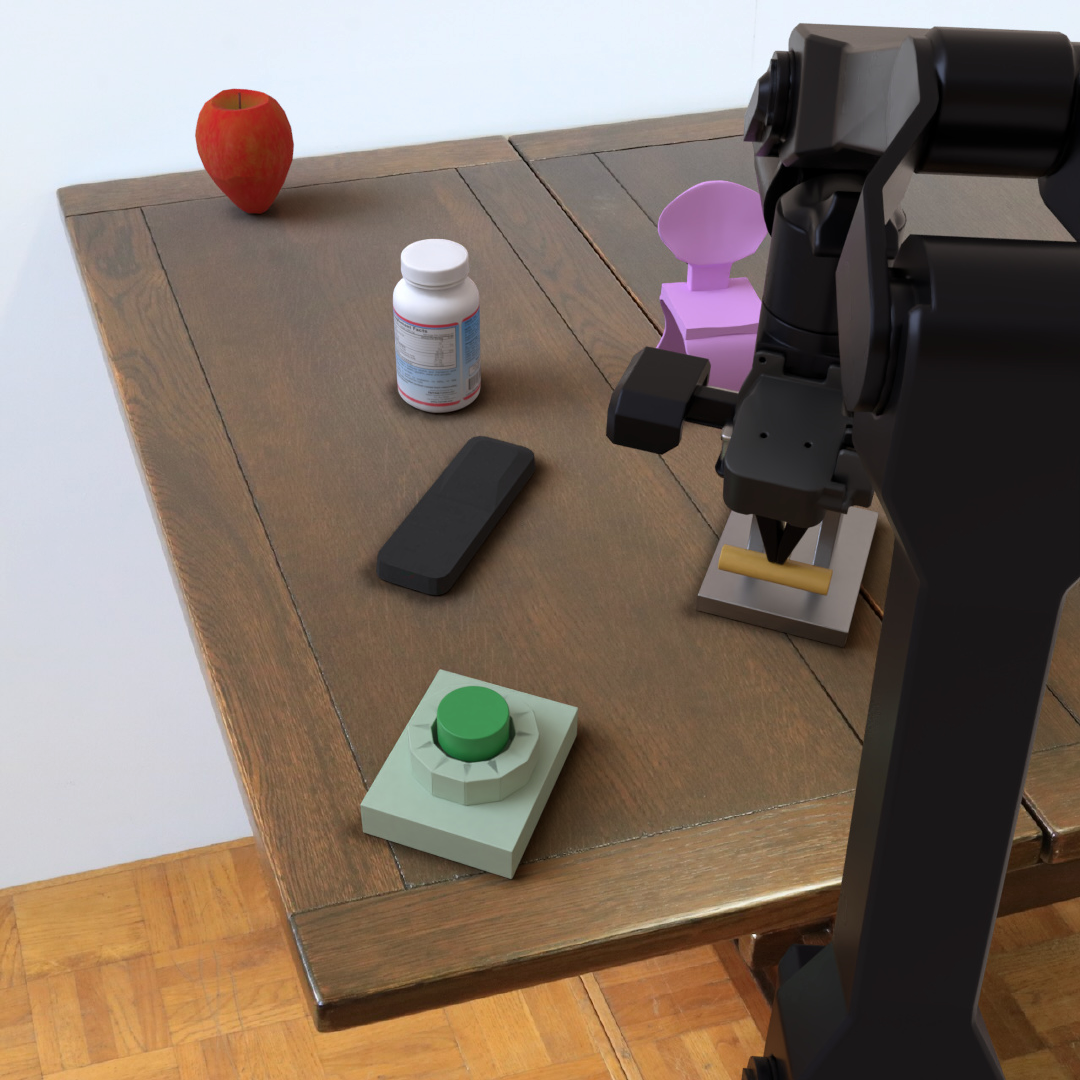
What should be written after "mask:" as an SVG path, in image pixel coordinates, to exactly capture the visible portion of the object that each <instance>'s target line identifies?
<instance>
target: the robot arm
mask: <svg viewBox="0 0 1080 1080" xmlns="http://www.w3.org/2000/svg"><path fill="white" fill-rule="evenodd" d="M787 47H788V49H787V50H774V51H773V53H772V56H771V58H770V60H769V64H768V67H767V69H766V72H764V73H762V75H761V76H759V78H758V79H757V80H756V82H755V85H754V89H753V91H752V94H751V97H750V99H749V102H748V105H747V108H746V111H745V113H744V117H743V119H744V120H743V138H742V139H743V141H742V142H744V143H745V142H748V143H752V149H753V166H754V171H755V177H756V183H757V189H758V193H759V194H760V200H761V206H762V211H763V217H764V221H765V224H766V228H767V231H768V233H767V234H769V236H770V244H769V251H768V258H767V264H766V271H765V278H764V283H763V290H762V291H763V292H762V298H761V302H762V303H761V310H760V317H759V323H758V330H757V337H756V343H755V350H754V357H753V363H752V369H751V370H750V372H749V374H748V375H747V377H746V379H745V380H744V382H743V384H742V386H741V388H740V391H739V392H738V391H734V390H729V389H724V388H719V387H715V386H710V385H708V383H709V377H710V369H711V364H710V361H709V359H706V358H701V357H697V356H692V355H687V354H682V353H677V352H672V351H667V350H663V349H658V348H656V347H652V346H648V345H645V346H644V347H643V348H641V350H639V351H637V352H636V353H635V354H634V355H633V356H632V358H631V359H630V361H629V363H628V365H627V366H626V368H625V370H624V372H623V374H622V375H621V377H620V379H619V380H618V382H617V384H616V385H615V387H614V389H613V391H612V393H611V395H610V399H609V403H608V406H607V412H606V413H607V414H606V428H605V437H606V438H607V439H608V440H609V441H610V442H611V444H613V445H616V446H622V447H625V448H629V449H632V450H633V449H634V450H638V451H643V452H646V453H647V452H648V453H652V454H656V455H660V456H663V455H664V454H666V453H669V452H670V451H672V450H674V449H675V448H677V447H679V445H680V443H681V441H682V439H683V429H684V424H685V422H686V423H691V424H695V425H699V426H704V427H708V428H714V429H718V430H721V434H720V440H721V441H722V442H721V449H720V453H719V454H718V457H717V459H716V462H715V464H714V470H715V474H716V475H717V476H718V477H720V478H721V479H723V481H722V482H723V483H722V500H723V503H724V505H725V506H726V508H728V509H729V510H730V511H731V510H732V511H734V512H737V513H740V514H744V515H749V514H754V515H755V516H756V519H757V523H758V527H759V530H760V534H761V538H762V541H763V545H764V549H765V552H766V556H767V560H768V562H771V563H776V564H779V565H783V564H784V563H785V562H786V560H787V559H788V557H789V556H790V554H791V553H792V551H793V550H794V549H795V547H796V546H797V544H798V543H799V541H800V540H801V538H802V537H803V536H804V534H805V533H806V531H807V530H808V528H810V527H814V526H816V525H818V524H819V523H821V522H822V521H823V519H824V518H825V515H826V512H827V510H829V511H833V512H838V513H842V514H846V515H847V513H848V509H849V507H851V506H853V507H859V508H864V509H869V508H870V507H871V506H872V503H873V497H874V495H876V497H877V500H878V501H879V504H880V506H881V508H882V511H883V512H884V514H885V517H886V519H887V522H888V523H889V525H890V527H891V530H892V532H893V536H894V538H893V548H892V555H891V563H890V569H889V575H888V583H887V588H886V594H885V600H884V606H883V614H882V619H881V620H882V621H881V626H880V633H879V639H878V646H877V651H876V652H877V653H876V659H875V664H874V672H873V677H872V684H871V691H870V697H869V704H868V709H867V710H868V711H867V718H866V722H865V729H864V734H863V735H864V736H863V740H862V746H861V747H862V749H861V754H860V761H859V767H858V774H857V780H856V786H855V792H854V800H853V806H852V812H851V819H850V826H849V832H848V838H847V844H846V851H845V856H844V864H843V870H842V876H841V884H840V889H839V896H838V903H837V908H836V913H835V914H836V915H835V921H834V926H833V927H834V928H833V932H832V937H831V941H830V942H829V943H828V944H826V945H824V944H809V943H808V944H807V943H792V944H790V945H789V947H788V948H787V949H786V951H785V953H784V954H783V955H782V956H781V958H780V960H779V961H778V964H777V972H776V981H775V992H774V995H773V996H774V997H773V1001H772V1007H771V1011H770V1012H771V1013H770V1017H769V1023H768V1028H767V1033H766V1037H765V1038H766V1039H765V1041H764V1042H765V1043H764V1049H763V1056H758V1055H750V1056H749V1058H748V1061H747V1065H746V1067H743V1068H742V1069H741V1070H742V1071H741V1080H1007V1079H1006V1077H1005V1074H1004V1071H1003V1068H1002V1066H1001V1063H1000V1060H999V1058H998V1054H997V1052H996V1049H995V1047H994V1045H993V1041H992V1039H991V1036H990V1033H989V1030H988V1028H987V1025H986V1022H985V1020H984V1017H983V1013H982V1011H981V1009H980V1006H979V1000H980V995H981V992H982V991H981V990H982V987H983V981H984V977H985V972H986V967H987V963H988V959H989V954H990V950H991V945H992V940H993V936H994V931H995V925H996V921H997V916H998V912H999V909H1000V903H1001V897H1002V893H1003V888H1004V884H1005V880H1006V875H1007V870H1008V866H1009V861H1010V856H1011V852H1012V847H1013V842H1014V837H1015V834H1016V828H1017V823H1018V818H1019V814H1020V810H1021V805H1022V800H1023V796H1024V791H1025V786H1026V782H1027V778H1028V777H1027V776H1028V772H1029V768H1030V762H1031V758H1032V753H1033V750H1034V745H1035V739H1036V735H1037V731H1038V727H1039V722H1040V717H1041V712H1042V707H1043V703H1044V698H1045V693H1046V688H1047V683H1048V679H1049V675H1050V671H1051V665H1052V661H1053V656H1054V651H1055V647H1056V642H1057V638H1058V633H1059V630H1060V629H1059V628H1060V623H1061V619H1062V614H1063V611H1064V606H1065V603H1066V599H1067V596H1068V593H1069V592H1070V590H1071V589H1072V588H1074V587H1075V585H1077V583H1078V582H1080V41H1072V40H1070V38H1069V37H1068V36H1067V34H1065V33H1063V32H1061V31H1055V30H1053V31H1051V30H1030V29H1029V30H1028V29H1009V28H1007V29H1006V28H985V27H984V28H983V27H959V26H958V27H957V26H938V25H936V26H933V27H931V28H927V27H926V28H925V27H924V28H923V27H900V26H879V25H856V24H855V25H854V24H831V23H829V24H828V23H809V22H808V23H807V22H799V23H798V24H797V25H796V26H795V27H794V28H793V29H792V30H791V32H790V35H789V38H788V45H787ZM913 174H915V175H938V176H955V177H956V176H959V177H978V178H980V177H982V178H999V179H1000V178H1002V179H1003V178H1004V179H1023V180H1037V185H1038V192H1039V196H1040V197H1041V200H1042V202H1043V204H1044V206H1045V207H1046V208H1047V210H1049V212H1051V214H1052V215H1053V216H1054V217H1055V219H1057V221H1058V222H1059V223H1060V224H1061V225H1062V227H1063V229H1065V230H1066V232H1067V233H1068V234H1069V235H1070V236H1071V237H1072V239H1074V241H1072V240H1071V241H1069V240H1047V239H1025V238H1004V237H983V236H982V237H981V236H962V235H959V236H958V235H941V234H940V235H939V234H919V233H918V234H917V233H916V234H915V233H910V234H908V236H907V237H906V238H905V239H904V238H903V237H904V234H905V230H906V225H907V221H908V220H907V215H906V213H905V211H904V209H903V207H902V205H901V203H902V201H903V200H904V199H905V196H906V193H907V190H908V187H909V185H910V182H911V180H912V177H913ZM903 239H904V241H903ZM785 522H786V525H785ZM784 527H785V528H784Z"/></svg>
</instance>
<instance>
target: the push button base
mask: <svg viewBox="0 0 1080 1080" xmlns="http://www.w3.org/2000/svg"><path fill="white" fill-rule="evenodd" d="M466 686H481V687H486V688H489V689H492V690H494V691H496V692H497V693H499V694H500V695H501V696H502V697H503V698H504V699H505V701H506V702H507V704H508V707H509V739H508V742H507V744H506V746H505V748H504V749H503V750H502V751H501V752H500V753H499V754H497V755H496V756H494V757H492V758H490V759H488V760H484V761H479V762H467V761H461V760H458V759H455V758H453V757H452V756H450V755H448V754H447V753H446V752H445V751H444V750H443V749H442V747H441V746H440V744H439V741H438V733H437V709H438V706H439V703H440V702H441V700H442V699H443V698H444V697H445V696H446V695H447V694H448V693H450V692H451V691H453V690H455V689H458V688H461V687H466ZM578 720H579V707H577V706H574V705H570V704H567V703H563V702H559V701H556V700H553V699H549V698H545V697H541V696H538V695H534V694H530V693H527V692H523V691H519V690H516V689H512V688H508V687H505V686H503V685H498V684H494V683H490V682H488V681H484V680H482V679H481V680H480V679H477V678H473V677H470V676H466V675H463V674H460V673H455V672H452V671H448V670H445V669H440V668H439V670H438V671H437V673H436V674H435V676H434V678H433V680H432V682H431V684H430V685H429V687H428V688H427V690H426V692H425V694H424V695H423V696H422V699H421V701H420V702H419V704H418V706H417V707H416V709H415V711H414V712H413V714H412V716H411V718H410V719H409V721H408V722H407V724H406V726H405V727H404V729H403V731H402V733H401V735H400V736H399V738H398V740H397V741H396V742H395V744H394V746H393V748H392V749H391V752H390V753H389V755H388V756H387V758H386V760H385V761H384V763H383V765H382V766H381V769H380V770H379V771H378V773H377V775H376V777H375V778H374V781H373V782H372V784H371V785H370V787H369V789H368V790H367V792H366V794H365V796H364V797H363V799H362V801H361V802H360V815H361V816H360V817H361V825H362V832H363V834H367V835H370V836H373V837H377V838H380V839H383V840H385V841H390V842H393V843H396V844H399V845H402V846H405V847H408V848H412V849H415V850H417V851H420V852H424V853H427V854H431V855H434V856H437V857H439V858H443V859H446V860H450V861H452V862H456V863H459V864H462V865H465V866H469V867H472V868H473V869H474V868H475V869H477V870H481V871H484V872H487V873H491V874H494V875H497V876H500V877H504V878H506V879H510V880H513V878H514V876H515V873H516V871H517V869H518V867H519V865H520V863H521V860H522V859H523V855H524V853H525V852H526V849H527V847H528V845H529V843H530V840H531V838H532V836H533V834H534V831H535V829H536V827H537V825H538V823H539V821H540V819H541V816H542V813H543V811H544V809H545V807H546V804H547V803H548V800H549V799H550V795H551V793H552V791H553V790H554V787H555V785H556V782H557V780H558V778H559V775H560V773H561V771H562V769H563V767H564V764H565V762H566V760H567V758H568V756H569V754H570V751H571V749H572V747H573V744H574V742H575V740H576V738H577V736H578Z"/></svg>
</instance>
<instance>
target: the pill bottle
mask: <svg viewBox="0 0 1080 1080" xmlns="http://www.w3.org/2000/svg"><path fill="white" fill-rule="evenodd" d="M469 256H470V255H469V252H468V250H467V248H466V247H465V246H463V245H462V244H460V243H459V242H457V241H453V240H449V239H444V238H427V239H422V240H421V239H420V240H417V241H414V242H412V243H410V244H408V245H407V246H406V247H404V248H403V250H402V252H401V253H400V272H401V276H402V278H401V279H400V280H399V281H398V282H397V283H396V285H395V287H394V289H393V293H392V312H393V313H392V314H393V327H394V328H393V329H394V347H395V348H394V349H395V366H396V384H397V391H398V394H399V396H400V397H401V399H402V400H403V401H404V402H406V404H408V405H409V406H412V407H413V408H415V409H417V410H419V411H423V412H427V413H438V414H441V413H450V412H455V411H458V410H461V409H464V408H466V407H467V406H469V405H471V404H472V403H473V402H474V401H475V400H476V399H477V398H478V396H479V394H480V391H481V386H482V377H481V376H482V374H481V373H482V372H481V371H482V369H481V364H482V363H481V311H480V310H481V309H480V306H481V305H480V303H481V302H480V293H479V288H478V287H477V284H476V283H475V282H474V281H473V280H472V279H471V277H469V276H468V275H469V272H470V257H469Z"/></svg>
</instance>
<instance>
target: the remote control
mask: <svg viewBox="0 0 1080 1080" xmlns="http://www.w3.org/2000/svg"><path fill="white" fill-rule="evenodd" d="M535 456H536V455H535V453H534V451H533V450H532V449H530V448H529V447H526V446H523V445H519V444H516V443H512V442H508V441H504V440H501V439H497V438H495V437H494V438H493V437H489V436H485V435H476V436H473V437H471V438H469V439H468V440H467V442H466V443H464V445H463V446H462V448H461V449H460V450H459V451H458V453H456V455H455V456H454V457H453V459H452V460H451V461H450V462H449V464H448V465H447V466H446V467H445V468H444V470H443V471H442V472H441V473H440V475H439V476H438V477H437V478H436V480H434V482H433V484H432V485H431V486H430V487H429V488H428V489H427V491H426V492H425V493H424V494H423V496H422V497H421V498H420V500H418V502H417V503H416V505H414V507H413V508H412V509H411V511H410V512H409V513H408V514H407V515H406V517H405V518H404V519H403V520H402V522H401V523H400V525H398V527H397V528H396V529H395V530H394V532H393V533H392V534H391V535H390V537H389V538H388V539H387V540H386V541H385V543H384V544H383V545H382V546H381V548H380V549H379V550H378V553H377V555H376V569H375V573H376V574H377V577H378V578H379V579H381V580H383V581H386V582H388V583H391V584H393V585H398V586H401V587H403V588H404V587H405V588H407V589H411V590H414V591H417V592H420V593H423V594H427V595H433V596H439V595H443V594H446V593H447V592H448V591H449V590H451V588H452V587H453V585H454V584H455V582H456V581H457V580H458V579H459V577H460V576H461V575H462V573H463V572H464V570H465V569H466V567H467V566H468V564H469V563H470V562H471V560H472V559H473V558H474V557H475V555H476V553H478V551H479V550H480V548H481V546H482V545H483V544H484V542H485V541H486V539H487V538H488V537H489V535H490V534H491V533H492V531H493V530H494V528H496V525H497V524H498V523H499V521H500V520H501V519H502V517H503V516H504V515H505V513H506V512H507V510H508V509H509V508H510V506H511V505H512V504H513V502H514V501H515V499H516V498H517V496H518V495H519V494H520V492H521V491H522V490H523V488H524V487H525V485H526V484H527V482H529V479H530V478H531V477H532V476H533V474H534V473H535V471H536V467H537V466H536V457H535Z"/></svg>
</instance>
